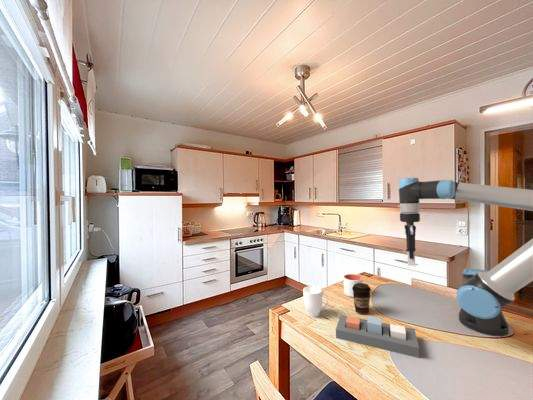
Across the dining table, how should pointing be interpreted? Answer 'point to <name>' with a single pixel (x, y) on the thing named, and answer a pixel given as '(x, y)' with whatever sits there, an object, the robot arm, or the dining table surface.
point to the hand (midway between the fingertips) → (411, 265)
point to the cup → (351, 283)
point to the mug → (313, 300)
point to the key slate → (374, 325)
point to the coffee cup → (361, 298)
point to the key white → (397, 332)
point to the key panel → (379, 337)
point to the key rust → (353, 323)
